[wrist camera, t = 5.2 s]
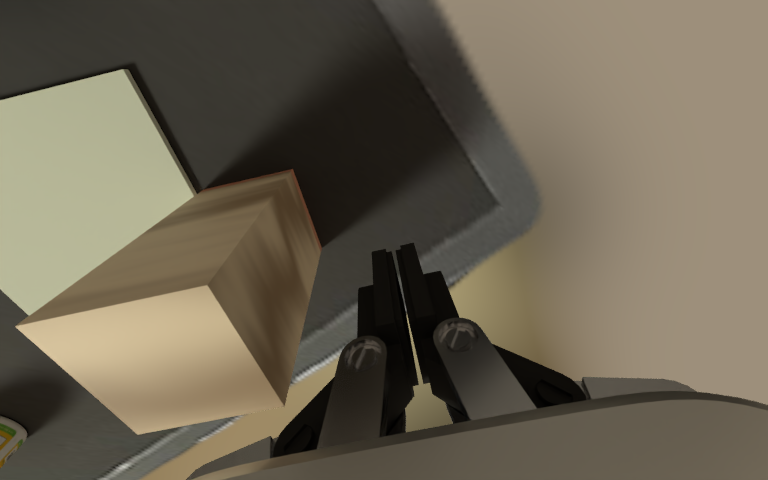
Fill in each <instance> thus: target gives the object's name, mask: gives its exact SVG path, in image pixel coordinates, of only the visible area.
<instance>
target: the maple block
mask: <svg viewBox="0 0 768 480" xmlns="http://www.w3.org/2000/svg"><path fill="white" fill-rule="evenodd" d="M321 249H322V247H321V245H320V242H319V239H318V236H317V234H316V231H315V228H314V225H313V223H312V220H311V217H310V215H309V212H308V209H307V206H306V204H305V201H304V198H303V195H302V193H301V190H300V187H299V185H298V182H297V179H296V176H295V174H294V171H293V169H291V170H286V171H282V172H278V173H273V174H269V175H265V176H260V177H256V178H252V179H247V180H243V181H239V182H234V183H230V184H226V185H221V186H217V187H213V188H208V189H204V190H202V191H201V192H199V193H198V194H197V195H195V196H194V197H192V198H191V199H190V200H188V201H187V202H186V203H184V204H183V205H181V206H180V207H179V208H177V209H176V210H175V211H173V212H172V213H170V214H169V215H168V216H166V217H165V218H164V219H162V220H161V221H159V222H158V223H157V224H155V225H154V226H153V227H151V228H150V229H148V230H147V231H146V232H144V233H143V234H141V235H140V236H139V237H137V238H136V239H135V240H133V241H132V242H130V243H129V244H128V245H126V246H125V247H124V248H122V249H121V250H119V251H118V252H117V253H115V254H114V255H113V256H111V257H110V258H108V259H107V260H106V261H104V262H103V263H101V264H100V265H99V266H97V267H96V268H95V269H93V270H92V271H90V272H89V273H88V274H86V275H85V276H84V277H82V278H81V279H79V280H78V281H77V282H75V283H74V284H73V285H71V286H70V287H68V288H67V289H66V290H64V291H63V292H62V293H60V294H59V295H57V296H56V297H55V298H53V299H52V300H50V301H49V302H48V303H46V304H45V305H44V306H42V307H41V308H39V309H38V310H37V311H35V312H34V313H33V314H31V315H30V316H28V317H27V318H26V319H24V320H23V321H22V322H20V323H19V324H17V325H16V326H15V327H16V328H17V329H18V330H20V331H21V332H22V333H23V334H24V335H25V336H26V337H28V338H29V339H30V340H31V341H32V342H33V343H34V344H35V345H37V346H38V347H39V348H40V349H41V350H42V351H43V352H45V353H46V354H47V355H48V356H49V357H50V358H51V359H52V360H54V361H55V362H56V363H57V364H58V365H59V366H60V367H62V368H63V369H64V370H65V371H66V372H67V373H68V374H70V375H71V376H72V377H73V378H74V379H75V380H76V381H77V382H79V383H80V384H81V385H82V386H83V387H84V388H85V389H87V390H88V391H89V392H90V393H91V394H92V395H93V396H94V397H96V398H97V399H98V400H99V401H100V402H101V403H102V404H104V405H105V406H106V407H107V408H108V409H109V410H110V411H111V412H113V413H114V414H115V415H116V416H117V417H118V418H119V419H121V420H122V421H123V422H124V423H125V424H126V425H127V426H129V427H130V428H131V429H132V430H133V431H134V432H135V433H136V434H144V433H149V432H154V431H159V430H164V429H170V428H175V427H180V426H185V425H191V424H196V423H201V422H206V421H212V420H217V419H222V418H227V417H232V416H238V415H243V414H248V413H253V412H259V411H264V410H269V409H274V408H279V407H284V406H285V402H286V397H287V393H288V389H289V385H290V381H291V376H292V372H293V368H294V364H295V359H296V355H297V351H298V347H299V342H300V338H301V334H302V330H303V325H304V321H305V317H306V313H307V308H308V304H309V300H310V296H311V291H312V287H313V283H314V279H315V274H316V270H317V266H318V262H319V258H320V253H321Z"/></svg>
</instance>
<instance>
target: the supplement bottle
mask: <svg viewBox="0 0 768 480" xmlns="http://www.w3.org/2000/svg"><path fill="white" fill-rule="evenodd" d="M26 438H27V432H26V430H25V429H24V428H23V427H22V426H21V425H20V424H18V423H16V422H15V421H13V420H10V419H8V418H5V417H2V416H0V468H1V467H2V466H3V464H4V463H5V462H6V461H7V460H8V459H9V458H10V457H11V456H12V455H13V454H14V453H15V451H16V450H17V449H18V448H19V447H20V446H21V445H22V444H23V442H24V441H25V440H26Z"/></svg>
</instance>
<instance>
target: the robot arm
mask: <svg viewBox="0 0 768 480" xmlns="http://www.w3.org/2000/svg"><path fill="white" fill-rule="evenodd" d="M400 247H401V249H400V250H396V255H397V260H398V266H399V271H400V277H401V282H402V287H403V293H404V298H405V303H406V309H407V314H408V319H409V324H410V328H411V332H412V337H413V341H414V345H415V349H416V354H417V358H418V362H419V366H420V370H421V374H422V379H423V383H424V384H425V383H430V385H431V389H432V394H433V395H435V396H437V397H438V398H440V399H441V400H443V401H444V402H445V403H446V407H447V410H448V412H449V415H450V417H451V420H452V422H453V424H450V425H444V426H439V427H434V428H428V429H423V430H418V431H412V432H407V433H406V412H405V408H406V406H407V405H408V404H409V402H410V400H412V398H413V397H414V391H413V386H415V385H418V378H417V373H416V368H415V362H414V356H413V351H412V345H411V339H410V334H409V328H408V323H407V317H406V312H405V307H404V302H403V298H402V294H401V289H400V285H399V281H398V277H397V273H396V268H395V264H394V260H393V256H392V252H391V251H390V252H386V249H383V250H378V251H373V252H372V266H373V285H370V286H366V287H361V288H359V290H358V332H357V338H356V339H354V340H352V341H351V342H350V343H348V344H347V345H346V346H345V348H344V349H343V350H342V352H341V355H340V357H339V361H338V365H337V370H336V373H335V377H334V378H333V379H332V380H331V381H330V382H329V383H328V384H327V385H326V386H325V387H324V388H323V389H322V390H321V391H320V392H319V393H318V394H317V395H316V396H315V397H314V399H312V400H311V402H309V403H308V405H307V406H306V407H305V408H304V409H303V410H302V411H301V412H300V413H299V414H298V415H297V416H296V417H295V418H294V419H293V420H292V421H291V422H290V423H289V424H288V425H287V426H286V427H285V428H284V430H283V431H282V432H281V433H280V435H279V437H277V438H274V439H272V437H271V436H269V437H267V438H265V439H262V440H261V441H258V442H255V443H254V444H251V445H248V446H246V447H244V448H241V449H239V450H237V451H235V452H233V453H230V454H228V455H226V456H223V457H221V458H219V459H216V460H214V461H211V462H209V463H207V464H205V465H203V466H201V467H200V468H198V469H197V470H195V471H194V472H193V473H192V474H191V475H190V476H189V477H188V478H187V479H186V480H768V405H766V404H763V403H759V402H755V401H751V400H747V399H742V398H738V397H731V396H724V395H718V394H711V393H702V392H697V391H695V390H694V389H692V388H690V387H689V386H687V385H684V384H681V383H679V382H676V381H672V380H665V379H641V378H601V377H599V378H598V377H583V378H582V381H573V380H572V379H570V378H568V377H567V376H565V375H563V374H561V373H559V372H556V371H554V370H552V369H549V368H547V367H544V366H542V365H540V364H538V363H535V362H533V361H531V360H529V359H526V358H524V357H522V356H519V355H517V354H515V353H512V352H510V351H508V350H505V349H503V348H500V347H498V346H496V345H494V344H492V343H491V342H490V340H489V339H488V337H487V336H486V335H485V333H484V332H483V330H482V329H481V328H480V327H479V326H478V325H477V324H476V323H475V322H473V321H471V320H469V319H465V318H459V315H458V313H457V310H456V308H455V305H454V303H453V300H452V298H451V295H450V292H449V290H448V287H447V285H446V282H445V280H444V277H443V275H442V273H441V271H437V272H432V273H427V274H423V272H422V269H421V266H420V262H419V259H418V256H417V252H416V249H415V246H414V243H410V244H406V245H401V246H400Z"/></svg>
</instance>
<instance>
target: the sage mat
mask: <svg viewBox="0 0 768 480" xmlns="http://www.w3.org/2000/svg"><path fill="white" fill-rule="evenodd" d="M195 195H197V193H196V191H195V189H194V188H193V186H192V184H191V182H190V180H189V178H188V177H187V175H186V173H185V171H184V169H183V168H182V166H181V164H180V162H179V160H178V159H177V157H176V155H175V153H174V151H173V149H172V148H171V146H170V144H169V142H168V140H167V139H166V137H165V135H164V133H163V131H162V130H161V128H160V126H159V124H158V122H157V120H156V119H155V117H154V115H153V113H152V111H151V110H150V108H149V106H148V104H147V102H146V101H145V99H144V97H143V95H142V93H141V92H140V90H139V88H138V86H137V84H136V82H135V81H134V79H133V77H132V75H131V73H130V72H129V70H128V69H122V70H118V71H114V72H110V73H106V74H102V75H98V76H94V77H90V78H87V79H83V80H79V81H75V82H71V83H67V84H63V85H59V86H55V87H51V88H47V89H43V90H39V91H35V92H31V93H27V94H24V95H20V96H16V97H12V98H8V99H4V100H0V289H1V290H2V291H3V292H4V293H5V294H6V295H7V296H8V297H9V298H11V299H12V300H13V301H14V302H15V303H16V304H17V305H18V306H19V307H20V308H21V309H22V310H23V311H25V312H26V313H27V314H28V315H29V316H30V315H31V314H33V313H34V312H35V311H37V310H38V309H39V308H41V307H42V306H44V305H45V304H46V303H48V302H49V301H50V300H52V299H53V298H55V297H56V296H57V295H59V294H60V293H62V292H63V291H64V290H66V289H67V288H68V287H70V286H71V285H73V284H74V283H75V282H77V281H78V280H79V279H81V278H82V277H84V276H85V275H86V274H88V273H89V272H90V271H92V270H93V269H95V268H96V267H97V266H99V265H100V264H101V263H103V262H104V261H106V260H107V259H108V258H110V257H111V256H113V255H114V254H115V253H117V252H118V251H119V250H121V249H122V248H124V247H125V246H126V245H128V244H129V243H130V242H132V241H133V240H135V239H136V238H137V237H139V236H140V235H141V234H143V233H144V232H146V231H147V230H148V229H150V228H151V227H153V226H154V225H155V224H157V223H158V222H159V221H161V220H162V219H164V218H165V217H166V216H168V215H169V214H170V213H172V212H173V211H175V210H176V209H177V208H179V207H180V206H181V205H183V204H184V203H186V202H187V201H188V200H190V199H191V198H192V197H194V196H195Z"/></svg>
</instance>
